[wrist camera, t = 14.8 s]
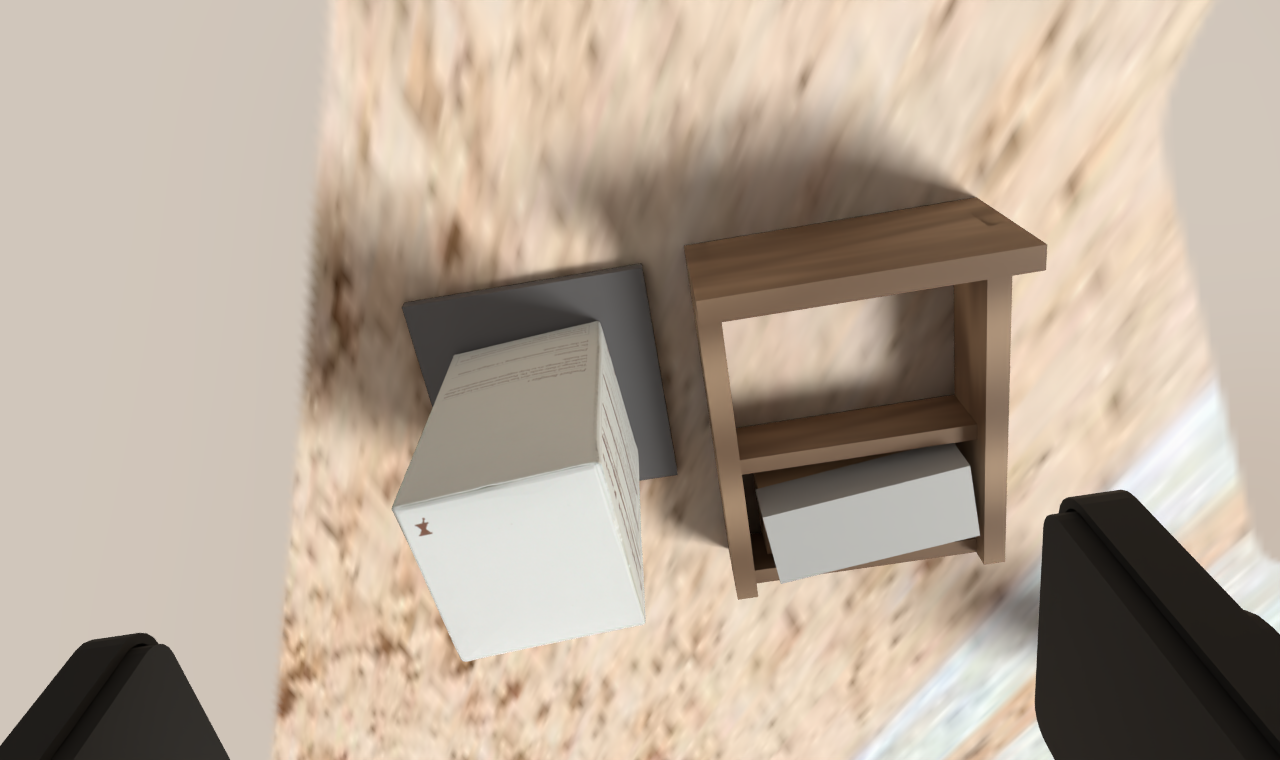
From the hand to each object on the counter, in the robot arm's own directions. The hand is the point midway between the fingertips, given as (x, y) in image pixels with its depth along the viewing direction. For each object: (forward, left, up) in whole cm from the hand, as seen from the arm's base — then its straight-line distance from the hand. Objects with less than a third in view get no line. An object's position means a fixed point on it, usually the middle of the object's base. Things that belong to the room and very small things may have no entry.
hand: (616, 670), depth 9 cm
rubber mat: (+11, -5, -30) cm, 33 cm away
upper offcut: (+18, +9, -28) cm, 35 cm away
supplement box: (+11, -5, -30) cm, 32 cm away
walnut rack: (+14, +9, -30) cm, 34 cm away
